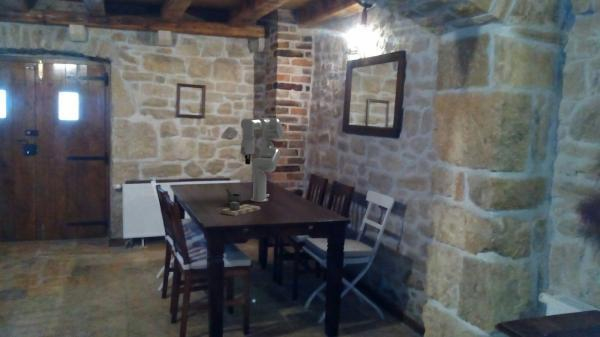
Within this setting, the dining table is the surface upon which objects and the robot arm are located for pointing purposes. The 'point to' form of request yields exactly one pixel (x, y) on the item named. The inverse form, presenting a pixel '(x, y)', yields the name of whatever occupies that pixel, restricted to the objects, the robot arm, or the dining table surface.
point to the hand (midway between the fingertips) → (247, 164)
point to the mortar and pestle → (233, 196)
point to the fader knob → (234, 205)
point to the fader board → (241, 210)
